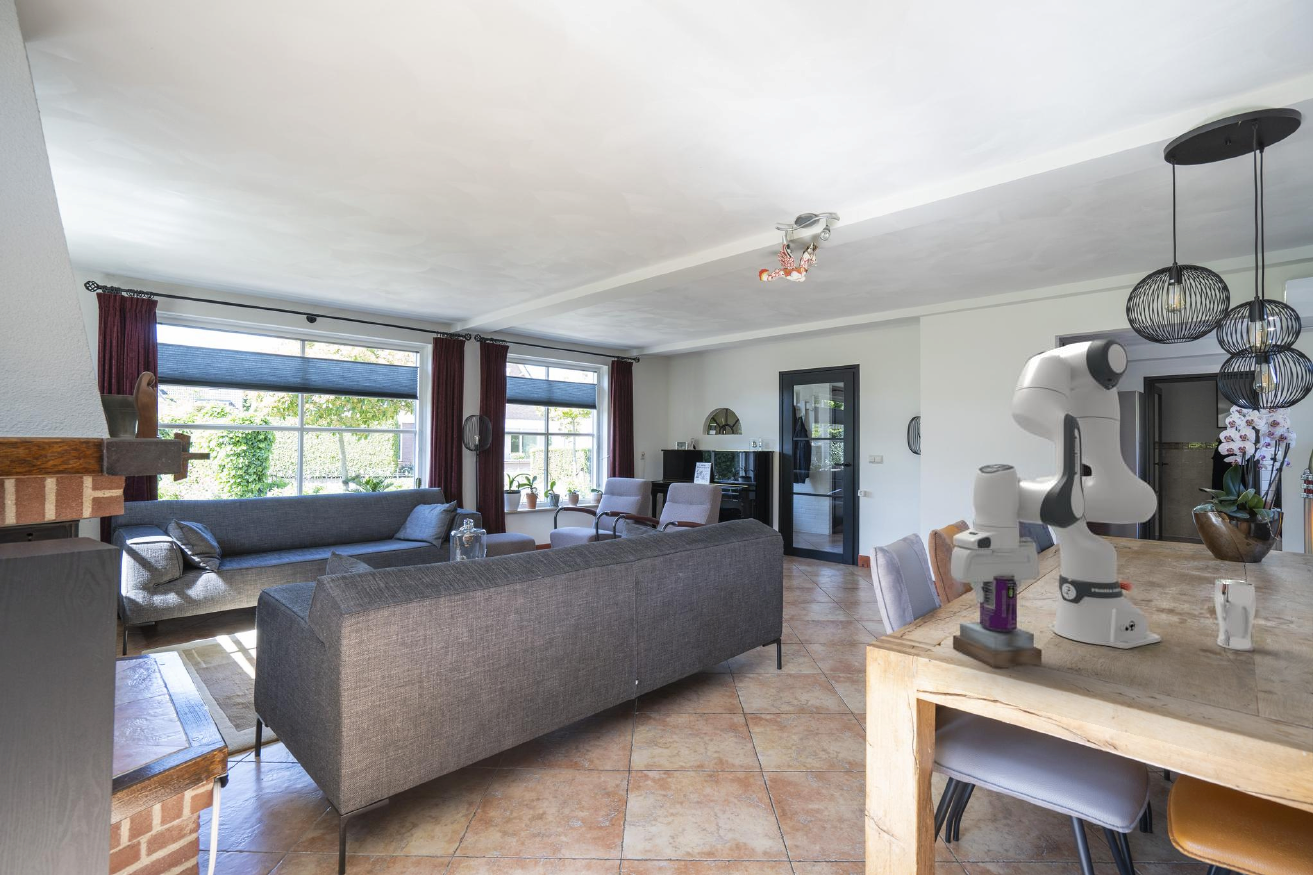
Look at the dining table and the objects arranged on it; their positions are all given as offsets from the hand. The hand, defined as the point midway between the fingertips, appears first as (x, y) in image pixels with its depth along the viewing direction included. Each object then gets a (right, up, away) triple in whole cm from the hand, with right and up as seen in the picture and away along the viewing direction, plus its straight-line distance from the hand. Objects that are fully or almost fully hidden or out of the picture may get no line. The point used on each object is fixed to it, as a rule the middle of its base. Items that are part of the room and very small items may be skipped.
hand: (995, 600), depth 131 cm
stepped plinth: (0, -12, 0) cm, 12 cm away
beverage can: (0, -6, 0) cm, 6 cm away
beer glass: (+60, -13, +7) cm, 62 cm away
